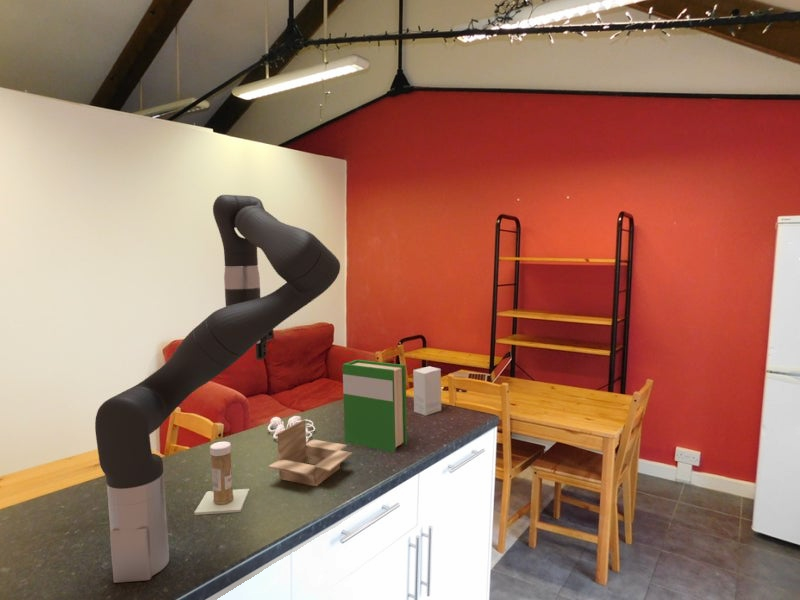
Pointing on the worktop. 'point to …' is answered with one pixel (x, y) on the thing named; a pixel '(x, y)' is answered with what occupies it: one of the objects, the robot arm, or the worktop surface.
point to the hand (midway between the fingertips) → (246, 358)
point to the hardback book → (375, 404)
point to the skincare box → (427, 390)
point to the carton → (307, 456)
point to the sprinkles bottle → (221, 472)
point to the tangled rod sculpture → (279, 426)
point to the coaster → (233, 506)
